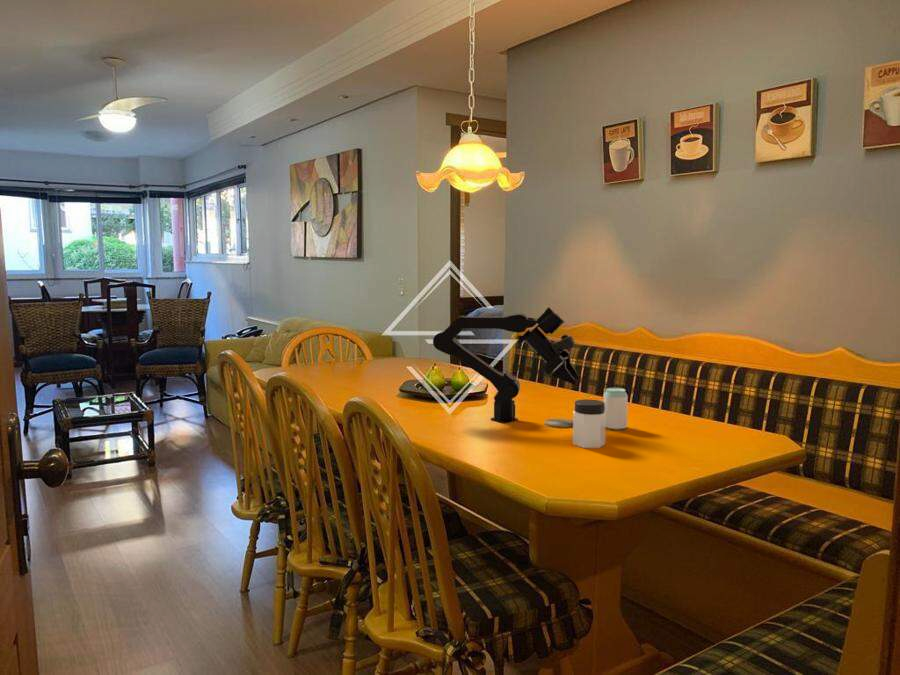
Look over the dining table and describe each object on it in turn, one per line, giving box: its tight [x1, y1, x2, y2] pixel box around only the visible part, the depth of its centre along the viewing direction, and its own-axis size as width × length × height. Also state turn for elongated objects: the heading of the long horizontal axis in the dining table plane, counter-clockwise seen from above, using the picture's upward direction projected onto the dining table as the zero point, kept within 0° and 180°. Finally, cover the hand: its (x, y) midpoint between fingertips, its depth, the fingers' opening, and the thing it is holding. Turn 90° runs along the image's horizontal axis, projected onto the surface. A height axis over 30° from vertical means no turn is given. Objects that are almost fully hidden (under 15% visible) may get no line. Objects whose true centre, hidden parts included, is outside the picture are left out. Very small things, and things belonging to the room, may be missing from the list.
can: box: [603, 387, 629, 431], centre depth 206 cm, size 7×7×12 cm
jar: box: [572, 398, 606, 449], centre depth 188 cm, size 9×8×12 cm
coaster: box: [544, 417, 573, 429], centre depth 212 cm, size 10×10×1 cm
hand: (576, 380), depth 210 cm, fingers open, 9 cm apart
